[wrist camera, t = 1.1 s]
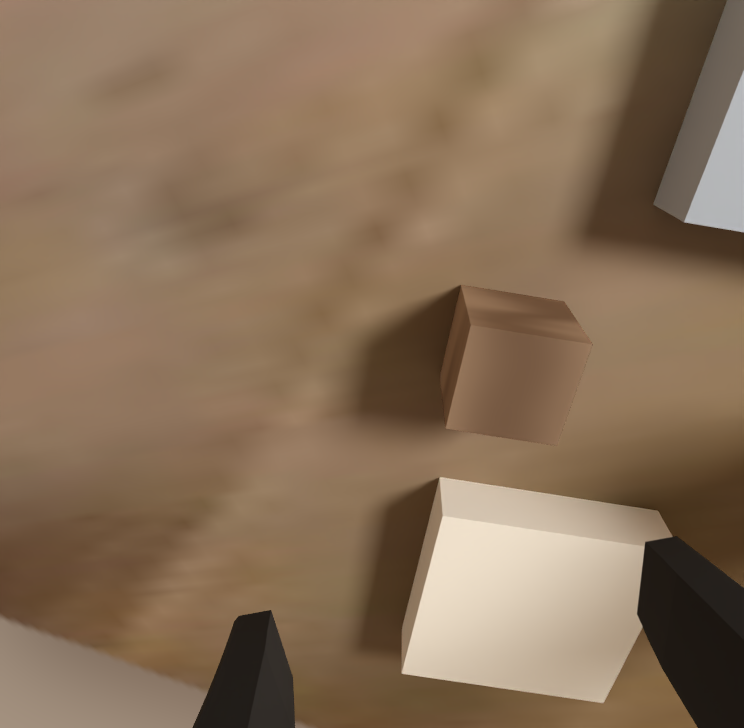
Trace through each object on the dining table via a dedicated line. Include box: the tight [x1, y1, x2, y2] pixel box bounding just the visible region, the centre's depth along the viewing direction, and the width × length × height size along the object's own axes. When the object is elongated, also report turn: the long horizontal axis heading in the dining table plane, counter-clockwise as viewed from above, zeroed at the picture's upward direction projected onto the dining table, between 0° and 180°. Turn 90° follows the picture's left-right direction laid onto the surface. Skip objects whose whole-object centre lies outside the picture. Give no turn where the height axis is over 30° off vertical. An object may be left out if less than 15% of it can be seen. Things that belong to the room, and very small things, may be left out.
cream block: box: [402, 477, 672, 703], centre depth 28 cm, size 10×10×3 cm
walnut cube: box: [440, 285, 593, 446], centre depth 22 cm, size 4×4×4 cm
